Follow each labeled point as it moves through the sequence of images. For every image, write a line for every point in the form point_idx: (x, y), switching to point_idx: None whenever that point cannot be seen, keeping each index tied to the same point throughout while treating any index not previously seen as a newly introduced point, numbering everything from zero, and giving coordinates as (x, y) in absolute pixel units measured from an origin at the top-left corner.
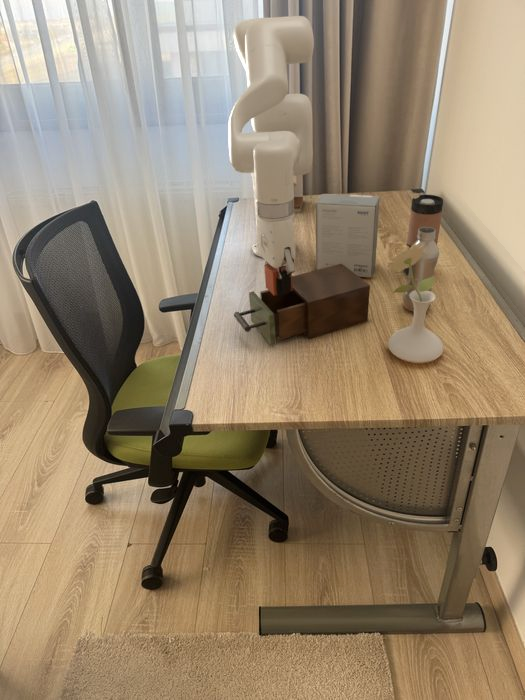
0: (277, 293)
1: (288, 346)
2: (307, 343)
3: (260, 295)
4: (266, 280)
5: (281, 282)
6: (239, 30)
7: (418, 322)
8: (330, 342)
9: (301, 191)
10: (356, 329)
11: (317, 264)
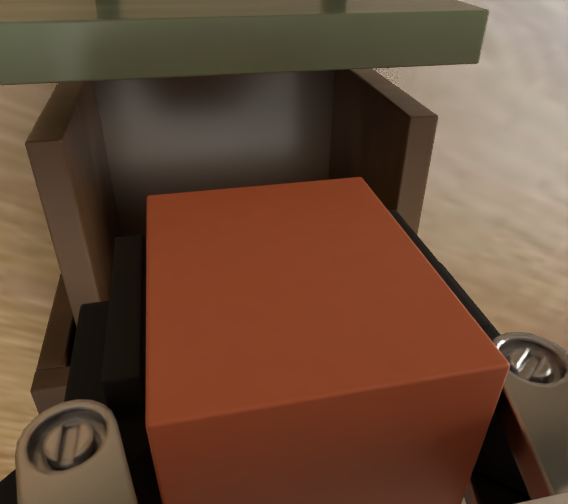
0: (123, 242)
1: (33, 94)
2: (35, 200)
3: (420, 105)
4: (361, 227)
5: (83, 384)
6: None
7: None
8: (12, 296)
9: None
10: None
11: None
